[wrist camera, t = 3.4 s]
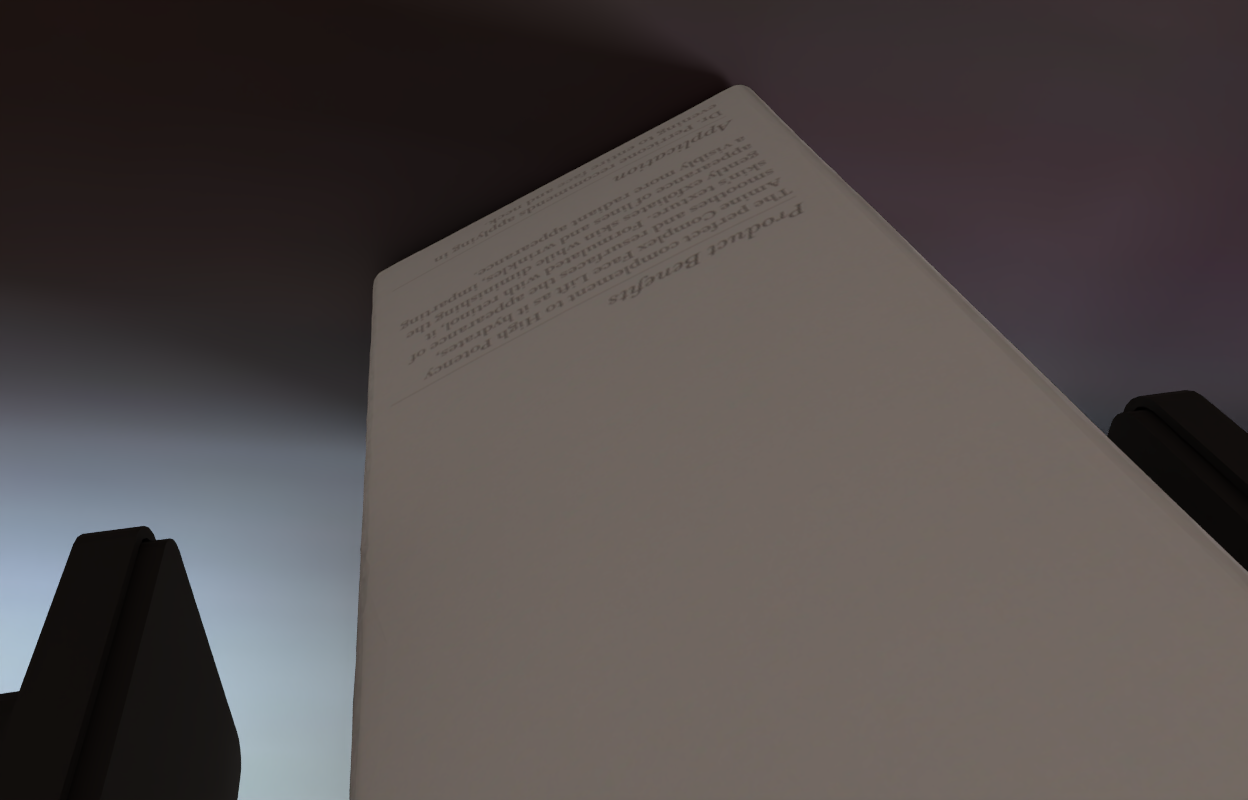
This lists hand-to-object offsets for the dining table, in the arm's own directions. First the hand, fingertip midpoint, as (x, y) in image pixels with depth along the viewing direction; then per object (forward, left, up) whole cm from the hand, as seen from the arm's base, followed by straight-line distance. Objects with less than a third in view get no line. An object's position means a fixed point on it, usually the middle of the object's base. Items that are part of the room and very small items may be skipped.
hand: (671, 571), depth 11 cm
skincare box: (0, +1, -7) cm, 7 cm away
